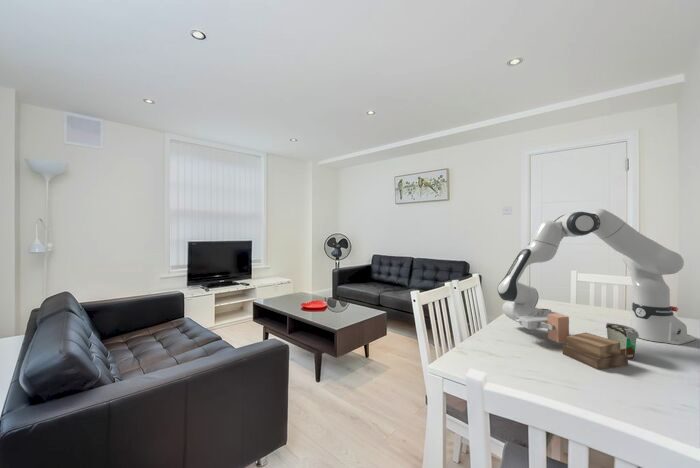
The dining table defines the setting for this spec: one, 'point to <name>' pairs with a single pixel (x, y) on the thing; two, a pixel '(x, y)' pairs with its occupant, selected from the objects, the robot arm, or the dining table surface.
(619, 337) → the food container
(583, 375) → the dining table surface
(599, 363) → the tower base
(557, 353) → the dining table surface
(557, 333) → the pillar
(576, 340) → the tower top
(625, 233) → the robot arm
